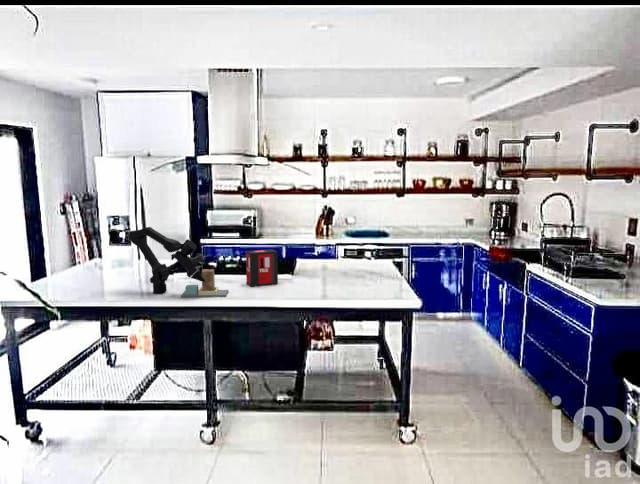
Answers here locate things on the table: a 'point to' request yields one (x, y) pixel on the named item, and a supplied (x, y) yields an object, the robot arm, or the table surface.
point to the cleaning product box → (261, 268)
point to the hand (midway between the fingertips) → (205, 279)
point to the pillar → (208, 280)
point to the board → (202, 292)
